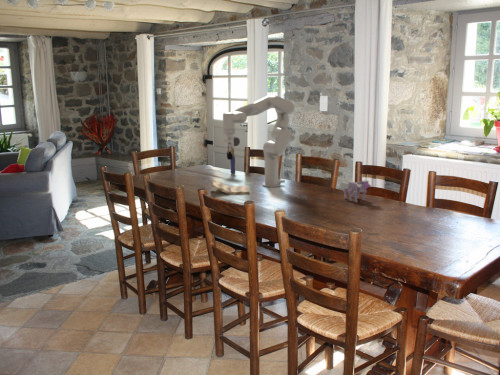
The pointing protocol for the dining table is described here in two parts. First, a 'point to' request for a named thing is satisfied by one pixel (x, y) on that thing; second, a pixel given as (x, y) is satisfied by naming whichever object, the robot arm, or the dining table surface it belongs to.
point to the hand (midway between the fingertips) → (229, 158)
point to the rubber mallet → (232, 161)
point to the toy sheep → (358, 187)
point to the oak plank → (220, 186)
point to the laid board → (239, 190)
